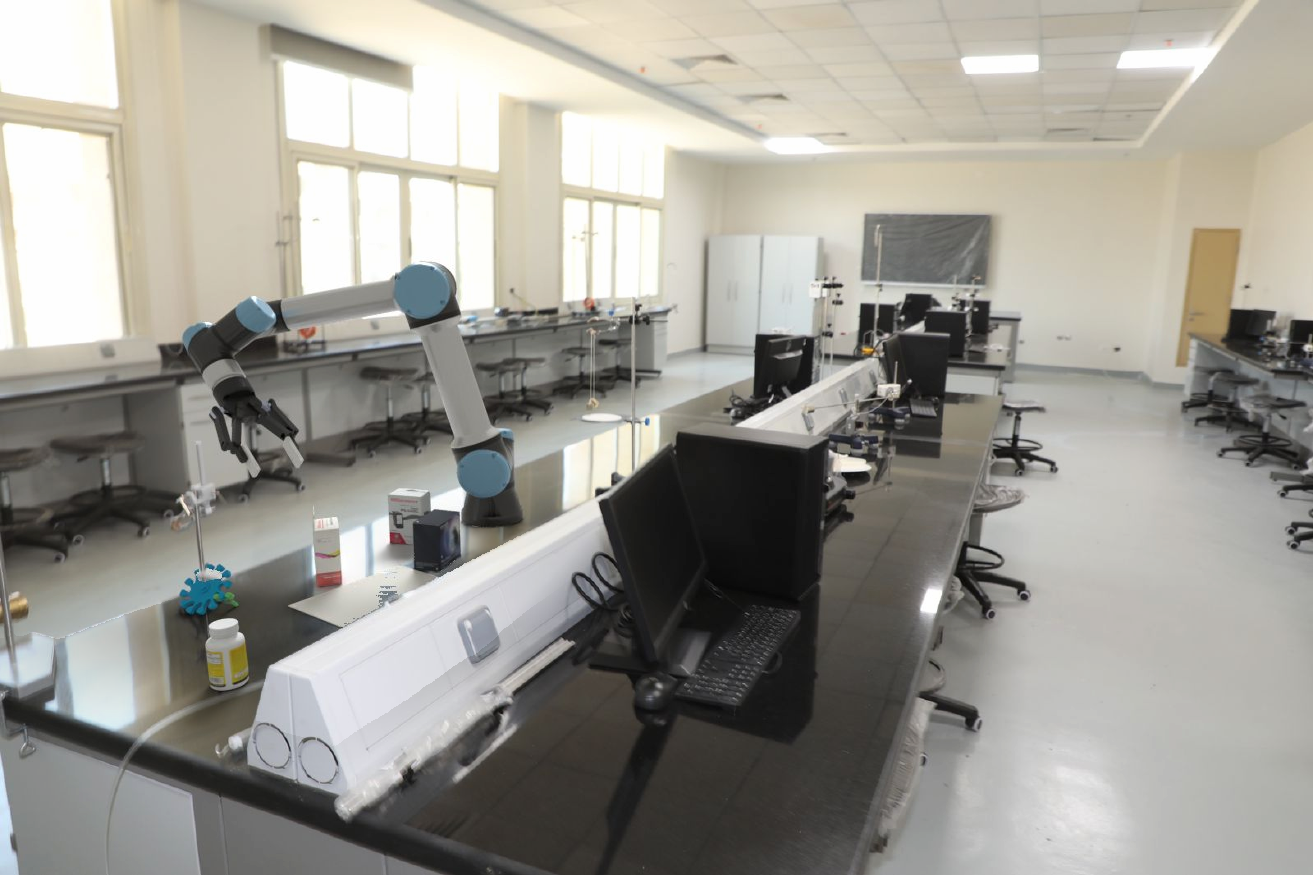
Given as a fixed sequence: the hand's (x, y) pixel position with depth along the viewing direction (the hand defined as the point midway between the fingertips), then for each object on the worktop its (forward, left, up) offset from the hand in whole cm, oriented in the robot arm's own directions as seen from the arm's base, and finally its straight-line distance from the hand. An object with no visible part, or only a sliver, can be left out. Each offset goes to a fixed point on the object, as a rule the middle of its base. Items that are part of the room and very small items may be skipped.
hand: (278, 468), depth 175 cm
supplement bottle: (+35, +40, -21) cm, 57 cm away
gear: (+22, +10, -21) cm, 32 cm away
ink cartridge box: (0, +15, -21) cm, 26 cm away
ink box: (-25, +10, -21) cm, 34 cm away
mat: (0, +30, -21) cm, 36 cm away
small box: (-19, +26, -21) cm, 38 cm away
